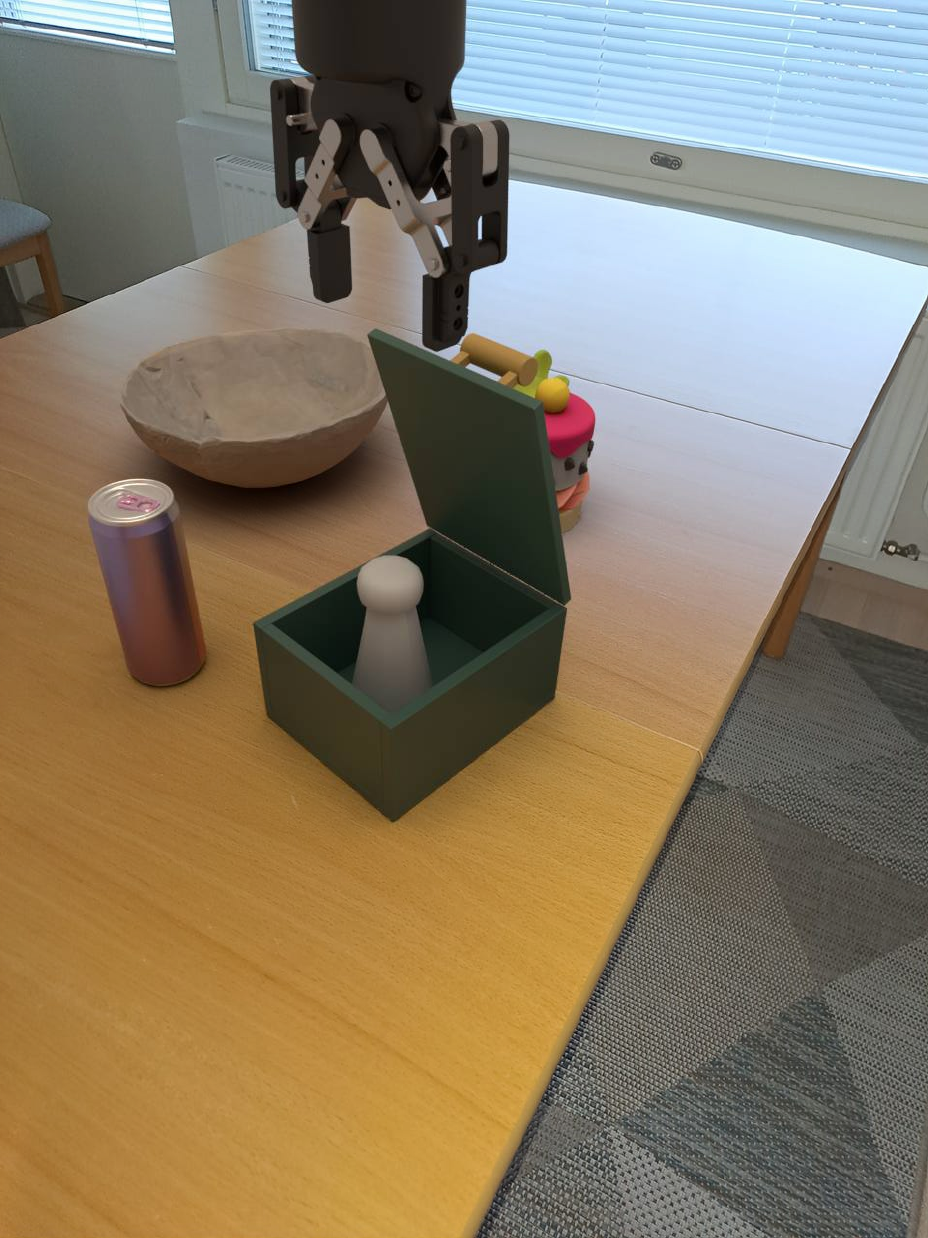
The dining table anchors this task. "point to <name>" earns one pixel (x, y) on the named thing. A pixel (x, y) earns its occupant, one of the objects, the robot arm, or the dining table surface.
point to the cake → (564, 437)
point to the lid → (479, 454)
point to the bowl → (256, 403)
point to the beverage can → (148, 579)
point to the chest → (458, 661)
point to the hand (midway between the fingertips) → (385, 321)
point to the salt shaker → (391, 634)
